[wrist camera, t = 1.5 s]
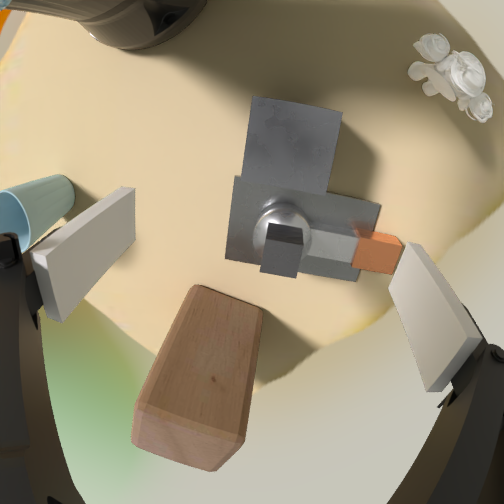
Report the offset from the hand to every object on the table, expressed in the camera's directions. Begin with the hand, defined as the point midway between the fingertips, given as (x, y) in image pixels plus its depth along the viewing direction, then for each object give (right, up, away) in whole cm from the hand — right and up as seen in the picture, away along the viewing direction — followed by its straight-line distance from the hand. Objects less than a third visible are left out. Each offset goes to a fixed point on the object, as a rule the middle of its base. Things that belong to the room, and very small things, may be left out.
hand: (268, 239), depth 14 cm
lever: (+6, +2, +20) cm, 21 cm away
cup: (-27, +8, +21) cm, 35 cm away
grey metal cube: (+3, +11, +16) cm, 19 cm away
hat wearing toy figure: (+17, +18, +11) cm, 27 cm away
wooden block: (-5, -10, +28) cm, 30 cm away
